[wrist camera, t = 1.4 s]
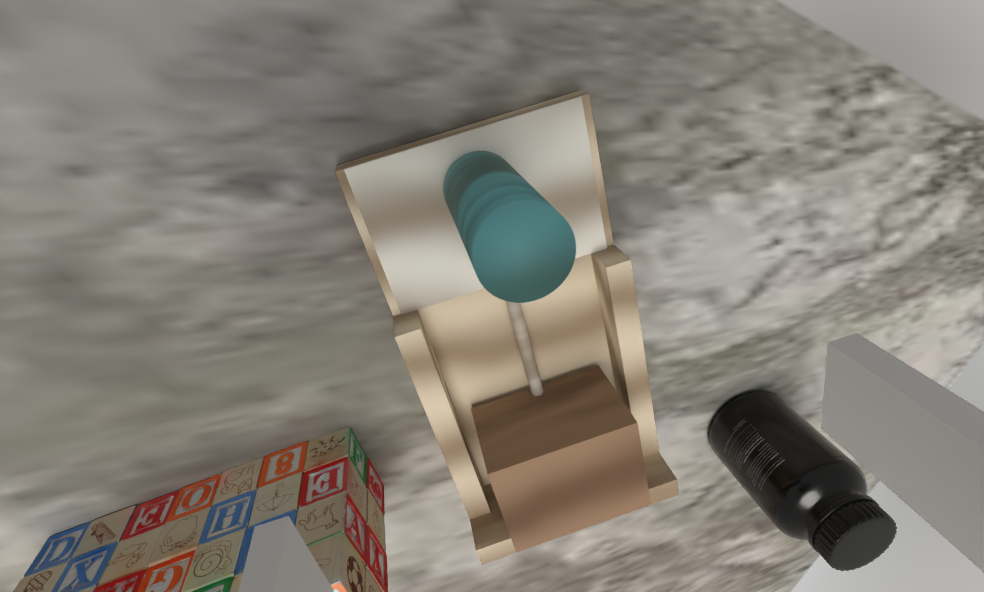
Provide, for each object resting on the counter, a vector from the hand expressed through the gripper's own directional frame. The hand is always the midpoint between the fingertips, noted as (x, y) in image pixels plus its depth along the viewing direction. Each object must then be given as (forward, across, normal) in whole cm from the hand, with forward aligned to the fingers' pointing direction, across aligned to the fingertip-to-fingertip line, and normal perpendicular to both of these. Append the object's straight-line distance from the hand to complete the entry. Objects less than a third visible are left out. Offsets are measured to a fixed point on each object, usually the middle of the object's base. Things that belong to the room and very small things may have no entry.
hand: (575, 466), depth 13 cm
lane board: (+21, +2, -8) cm, 23 cm away
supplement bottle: (+22, +18, -24) cm, 37 cm away
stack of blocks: (+22, -21, -16) cm, 34 cm away
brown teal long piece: (+19, +2, -8) cm, 21 cm away
